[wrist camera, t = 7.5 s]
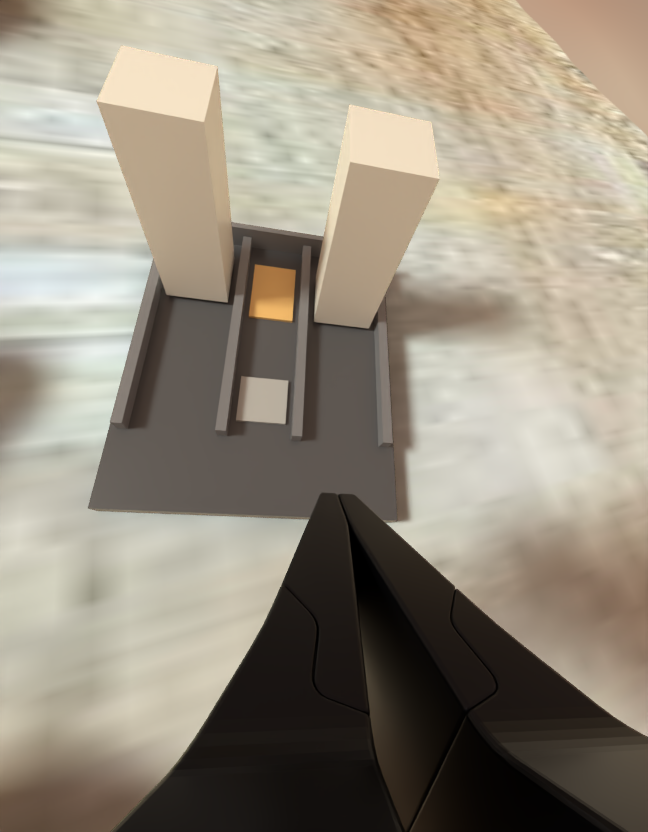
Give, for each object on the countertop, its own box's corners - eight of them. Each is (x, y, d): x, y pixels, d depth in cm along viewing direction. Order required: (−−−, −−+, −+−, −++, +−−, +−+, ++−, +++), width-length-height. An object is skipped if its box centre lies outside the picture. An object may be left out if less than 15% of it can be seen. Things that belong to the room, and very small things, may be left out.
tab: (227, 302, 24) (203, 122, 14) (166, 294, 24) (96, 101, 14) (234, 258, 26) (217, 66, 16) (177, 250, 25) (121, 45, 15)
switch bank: (390, 522, 22) (407, 518, 19) (97, 510, 20) (72, 504, 17) (379, 273, 30) (390, 247, 27) (165, 243, 27) (155, 210, 24)
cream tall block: (368, 328, 25) (439, 179, 15) (313, 321, 25) (350, 161, 15) (367, 284, 27) (431, 121, 17) (315, 277, 26) (349, 104, 16)
